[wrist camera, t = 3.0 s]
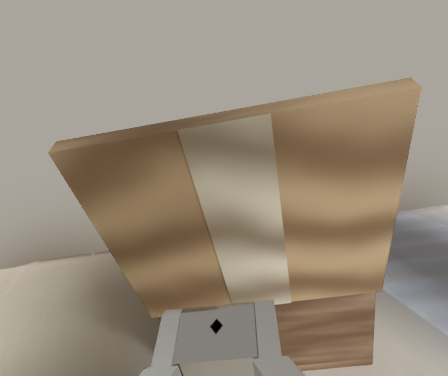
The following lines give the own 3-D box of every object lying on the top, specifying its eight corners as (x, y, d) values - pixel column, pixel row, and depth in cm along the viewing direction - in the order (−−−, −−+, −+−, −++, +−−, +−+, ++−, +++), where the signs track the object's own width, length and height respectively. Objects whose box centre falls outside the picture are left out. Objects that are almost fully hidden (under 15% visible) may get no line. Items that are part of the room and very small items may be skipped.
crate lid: (376, 279, 29) (382, 292, 28) (153, 305, 31) (151, 318, 30) (410, 77, 17) (422, 87, 16) (56, 141, 20) (47, 153, 19)
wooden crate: (372, 364, 34) (376, 280, 29) (185, 381, 37) (154, 307, 31) (328, 250, 50) (325, 181, 44) (199, 267, 52) (180, 203, 47)
